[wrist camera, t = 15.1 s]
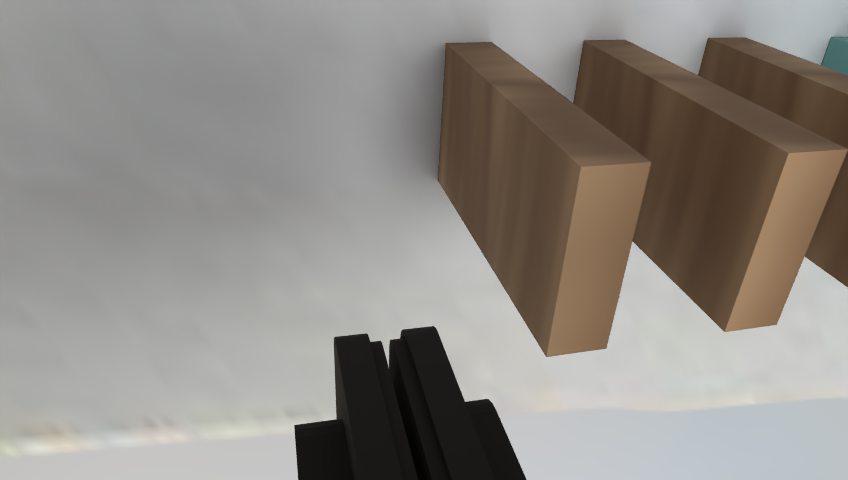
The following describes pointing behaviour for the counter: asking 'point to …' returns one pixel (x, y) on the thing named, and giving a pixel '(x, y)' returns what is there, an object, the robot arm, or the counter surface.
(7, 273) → the counter surface
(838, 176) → the domino
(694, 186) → the domino
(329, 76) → the counter surface
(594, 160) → the domino
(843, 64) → the domino
